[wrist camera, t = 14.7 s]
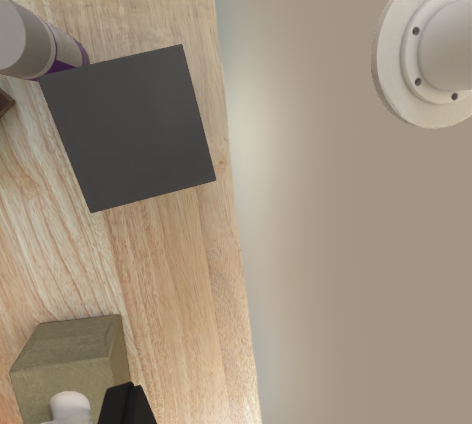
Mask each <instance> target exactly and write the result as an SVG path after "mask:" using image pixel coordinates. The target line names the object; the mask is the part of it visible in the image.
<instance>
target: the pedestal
mask: <svg viewBox="0 0 472 424" xmlns="http://www.w3.org/2000/svg"><path fill="white" fill-rule="evenodd" d="M37 79H38V81H39V84H40V86H41V89H42V92H43V94H44V97H45V99H46V102H47V104H48V107H49V109H50V112H51V114H52V117H53V119H54V122H55V124H56V127H57V130H58V132H59V135H60V137H61V140H62V142H63V145H64V147H65V150H66V152H67V155H68V157H69V160H70V162H71V165H72V168H73V170H74V173H75V175H76V178H77V180H78V183H79V185H80V188H81V190H82V193H83V195H84V198H85V201H86V203H87V206H88V208H89V211H90V213H94V212H98V211H102V210H106V209H109V208H113V207H117V206H121V205H125V204H128V203H132V202H136V201H140V200H144V199H147V198H151V197H155V196H159V195H163V194H166V193H170V192H174V191H178V190H182V189H186V188H189V187H193V186H197V185H201V184H205V183H208V182H212V181H216V176H215V172H214V169H213V165H212V161H211V157H210V153H209V149H208V145H207V141H206V137H205V133H204V129H203V125H202V121H201V117H200V113H199V109H198V105H197V101H196V97H195V93H194V89H193V85H192V81H191V77H190V73H189V69H188V65H187V62H186V58H185V54H184V50H183V46H182V44H180V45H175V46H171V47H166V48H162V49H157V50H153V51H149V52H144V53H140V54H135V55H131V56H126V57H122V58H117V59H113V60H108V61H104V62H100V63H95V64H91V65H86V66H82V67H77V68H73V69H68V70H64V71H59V72H55V73H51V74H46V75H42V76H38V77H37Z"/></svg>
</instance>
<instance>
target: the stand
mask: <svg viewBox="0 0 472 424" xmlns="http://www.w3.org/2000/svg"><path fill="white" fill-rule="evenodd" d="M15 102H16V101H15V100H13V99H12V98H11V97H10V96H9V95H8V94H7V93H5V92H4V91H3V90H2V89H1V88H0V118H1V117H2V116H3V115H4V114H5V113H6V112H7V110H8V109H9V108H10V107H11V106H12V105H13V104H14V103H15Z"/></svg>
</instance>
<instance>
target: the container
mask: <svg viewBox="0 0 472 424" xmlns="http://www.w3.org/2000/svg"><path fill="white" fill-rule="evenodd" d="M86 65H90V64H89V58H88V55H87V52H86V51H85V49H84V48H83V46H82V45H81V44H80V43H79V42H77V41H76V40H75V39H73V38H72V37H70V36H69V35H67V34H65V33H64V32H62V31H61V30H59V29H58V28H56V27H55V26H53V25H52V24H50V23H49V22H47V21H45V20H44V19H42V18H41V17H39V16H38V15H36V14H35V13H33V12H31V11H29V10H28V9H26V8H24V7H22V6H20V5H19V4H17V3H15V2H13V1H12V0H0V74H3V75H8V76H12V77H16V78H20V79H26V80H32V81H38V79H37V77H38V76H42V75H46V74H51V73H55V72H59V71H64V70H68V69H73V68H77V67H82V66H86ZM38 82H39V81H38Z"/></svg>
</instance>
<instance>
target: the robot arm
mask: <svg viewBox="0 0 472 424" xmlns="http://www.w3.org/2000/svg"><path fill="white" fill-rule="evenodd" d="M400 64H401V71H402V74H403V77H404V80H405V82H406V84H407V86H408V88H409V89H410V90H411V91H412V93H413V94H414V95H415V96H417V97H418V98H419V99H421V100H422V101H425V102H428V103H430V104H438V105H440V104H452V103H457V102H459V101H461V100H464V99H466V98H467V97H469V96H470V95H472V0H426V1H425V2H424V3H423V4H422V5H421V6H420V7H419V8H418V10H417V11H416V12H415V14H414V15H413V16H412V18H411V20H410V22H409V23H408V25H407V27H406V30H405V33H404V36H403V39H402V44H401V49H400ZM97 424H157V422H156V420H155V418H154V415H153V413H152V410H151V408H150V405H149V403H148V400H147V398H146V396H145V393H144V391H143V388H142V386H141V385H138V386H134V384H133V383H132V382H127V383H123V384H120V385H117V386H113V387H110V388H108V389H107V390H106V392H105V396H104V399H103V403H102V407H101V411H100V415H99V419H98V423H97Z"/></svg>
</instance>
